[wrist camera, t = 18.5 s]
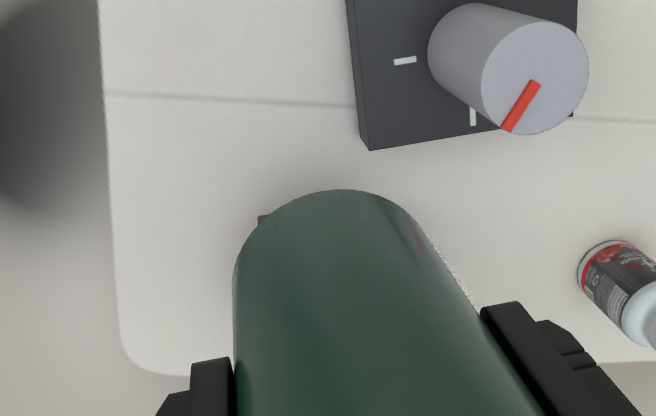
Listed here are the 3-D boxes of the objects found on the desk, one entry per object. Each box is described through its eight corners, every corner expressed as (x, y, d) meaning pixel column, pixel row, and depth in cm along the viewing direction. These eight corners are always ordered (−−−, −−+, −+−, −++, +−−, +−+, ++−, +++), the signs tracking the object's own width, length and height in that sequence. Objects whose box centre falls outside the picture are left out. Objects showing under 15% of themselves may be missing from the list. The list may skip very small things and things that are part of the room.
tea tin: (251, 383, 17) (271, 722, 10) (213, 209, 15) (200, 476, 7) (438, 346, 17) (592, 643, 10) (427, 171, 15) (613, 388, 8)
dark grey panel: (360, 137, 43) (369, 152, 40) (341, -31, 39) (351, -28, 36) (552, 105, 44) (574, 117, 42) (556, -62, 40) (581, -62, 37)
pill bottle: (642, 234, 50) (731, 299, 41) (632, 292, 52) (715, 364, 43) (578, 242, 49) (655, 310, 41) (572, 300, 52) (643, 376, 43)
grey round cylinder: (459, -15, 37) (527, -1, 29) (530, 30, 39) (614, 57, 30) (410, 69, 39) (461, 106, 30) (481, 109, 40) (547, 155, 32)
